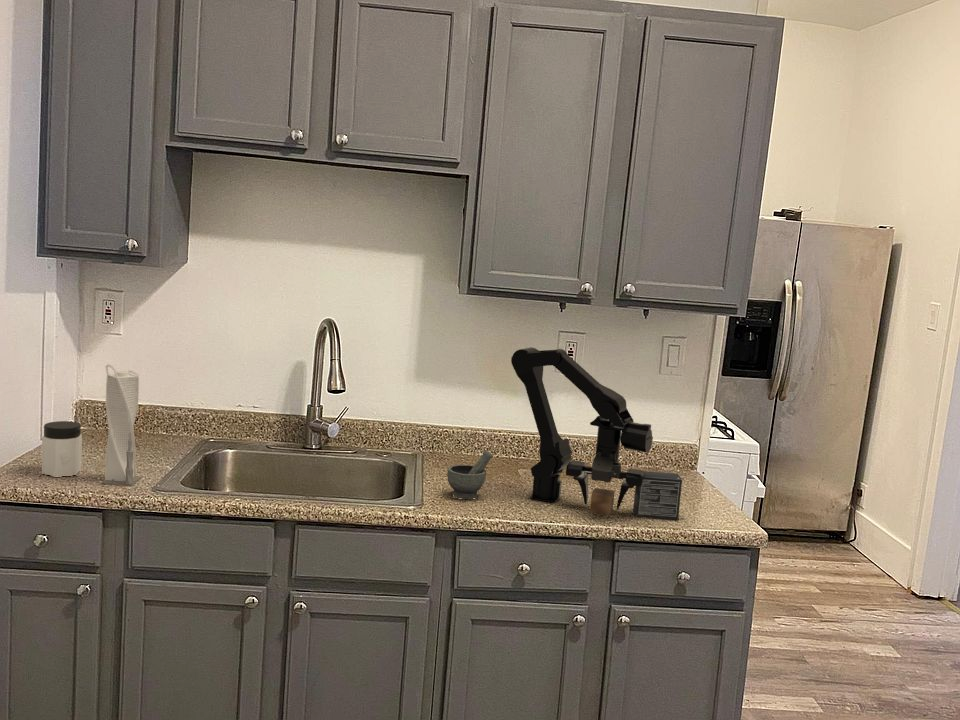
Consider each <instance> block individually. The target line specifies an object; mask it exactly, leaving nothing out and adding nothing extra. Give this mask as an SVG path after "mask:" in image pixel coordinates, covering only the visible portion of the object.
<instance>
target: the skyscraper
mask: <svg viewBox="0 0 960 720" xmlns="http://www.w3.org/2000/svg"><path fill="white" fill-rule="evenodd" d="M109 368H111V369H112V370H113V372H114V373H113V374H109V373H110V372H109ZM105 371H106V383H105V384H106V385H105V386H106V387H105V408H106V410H105V411H106V419H107V425H108V432H107V442H106V453H105V468H104V469H105V471H104V480H103V481H102V482H101V485H107V484H114V485H113V486H120V485H122V486H123V487H124V486H125V487H133V486H134V485H135V484H136V482H140V481H141V480H142V479H143V476H141V475H136V440H135V431H134V425H135V422H136V416H137V413H138V407H139V393H140V388H139V387H140V377H139V374H138V373H137V372H135V371H133V370H128V371H127V370H118V371H116V368H115V367H113V366H112V365H111V364H107V365H106V366H105Z"/></svg>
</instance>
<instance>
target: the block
mask: <svg viewBox="0 0 960 720" xmlns="http://www.w3.org/2000/svg"><path fill="white" fill-rule="evenodd" d="M615 493H616V490H612V489H605V488H601V487H600V488H599V487H594V488H593V490H592V492H591V495H590V496H591V498H590V507H589V513H594V514H600V515H606V516H611V514H612V512H613V510H614V501H615Z"/></svg>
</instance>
